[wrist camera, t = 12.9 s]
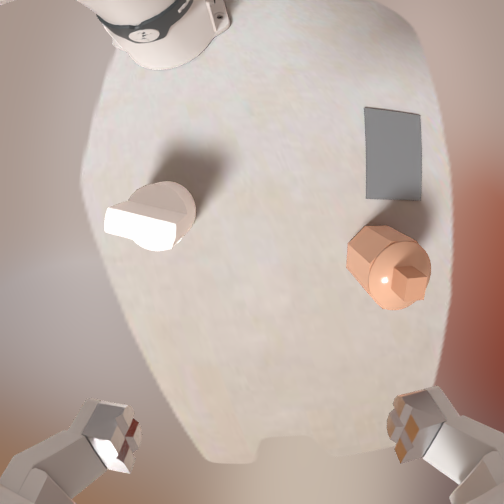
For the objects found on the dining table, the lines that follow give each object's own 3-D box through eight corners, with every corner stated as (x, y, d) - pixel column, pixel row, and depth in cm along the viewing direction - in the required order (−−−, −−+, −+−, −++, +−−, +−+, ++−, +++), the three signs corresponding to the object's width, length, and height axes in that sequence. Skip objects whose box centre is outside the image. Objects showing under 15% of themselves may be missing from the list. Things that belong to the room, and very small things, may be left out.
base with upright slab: (135, 232, 44) (100, 255, 33) (145, 175, 42) (110, 181, 30) (189, 246, 45) (169, 274, 33) (202, 188, 42) (183, 197, 31)
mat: (364, 108, 38) (365, 107, 38) (418, 115, 38) (420, 115, 38) (365, 198, 43) (366, 198, 42) (419, 200, 42) (420, 200, 42)
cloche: (348, 225, 44) (386, 252, 30) (402, 225, 44) (451, 249, 30) (344, 284, 47) (376, 328, 33) (396, 280, 46) (438, 319, 33)
